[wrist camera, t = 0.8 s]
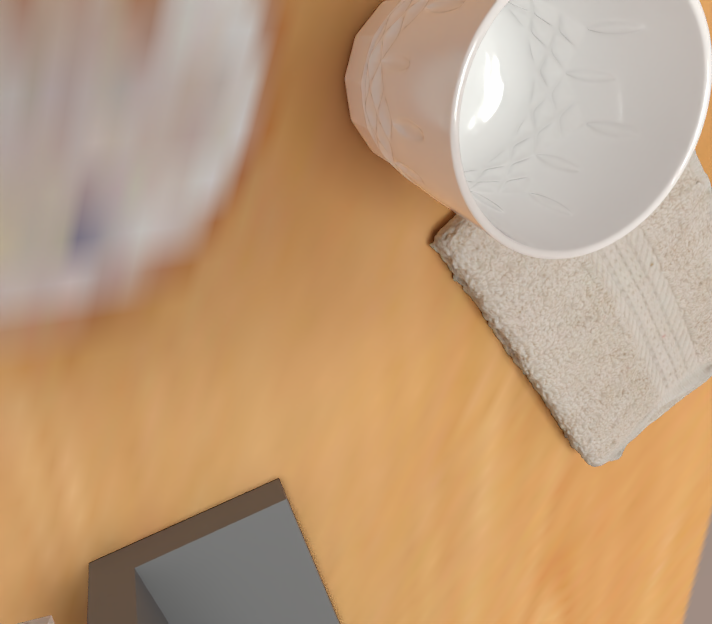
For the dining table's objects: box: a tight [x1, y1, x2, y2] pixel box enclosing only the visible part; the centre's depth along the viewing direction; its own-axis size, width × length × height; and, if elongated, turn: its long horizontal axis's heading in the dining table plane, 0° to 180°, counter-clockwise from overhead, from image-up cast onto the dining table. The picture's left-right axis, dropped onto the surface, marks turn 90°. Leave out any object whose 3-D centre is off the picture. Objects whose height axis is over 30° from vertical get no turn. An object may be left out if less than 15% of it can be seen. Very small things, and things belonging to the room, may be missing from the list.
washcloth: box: [430, 149, 712, 467], centre depth 32 cm, size 12×18×3 cm, turn 36°
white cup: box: [345, 0, 712, 260], centre depth 21 cm, size 8×8×10 cm
